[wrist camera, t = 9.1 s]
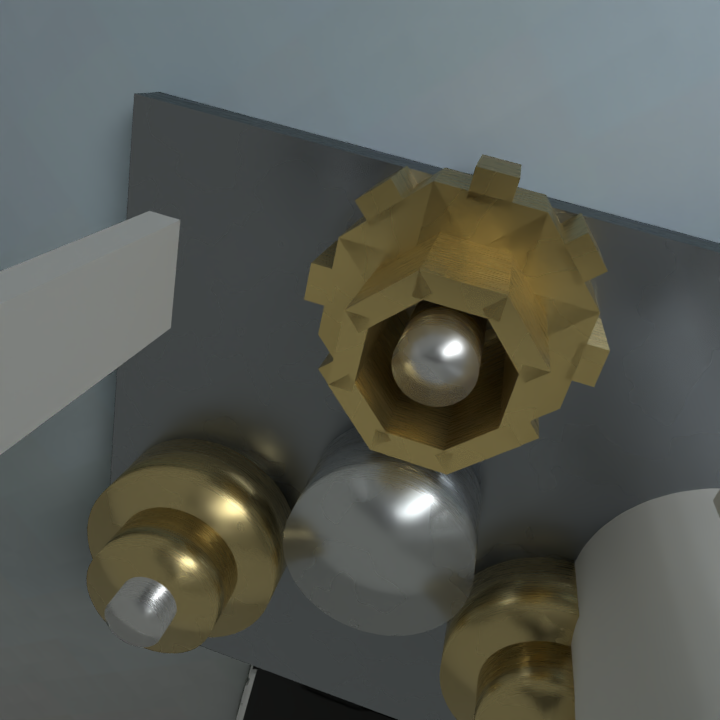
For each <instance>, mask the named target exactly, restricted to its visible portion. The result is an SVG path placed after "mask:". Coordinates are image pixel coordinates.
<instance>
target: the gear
mask: <svg viewBox="0 0 720 720" xmlns="http://www.w3.org/2000/svg"><path fill="white" fill-rule="evenodd" d="M520 174H521V165H520V164H517V163H513V162H509V161H505V160H502V159H498V158H494V157H490V156H487V155H483V154H482V156H481V158H480V160H479V161H478V163H477V165H476V167H475V171H474V174H473V175H471V174H467V173H463V172H459V171H456V170H452V169H448V168H444V169H442V170H440V171H439V172H437V173H435V174H434V175H432V176H430V177H429V178H427V179H425V180H424V181H422V182H420V183H419V184H417V182H416V180H415V178H414V177H413V175H412V173H411V171H410V169H409V168H408V166H405V167H404V168H402V169H401V170H399V171H397V172H396V173H394V174H392V175H391V176H389V177H388V178H386V179H384V180H383V181H381V182H379V183H378V184H376V185H375V186H373V187H372V188H371V189H369V190H368V191H367V192H365V193H364V194H363V195H361V196H360V197H359V198H357V199H356V200H355V202H356V203H357V205H358V207H359V208H360V210H361V212H362V213H363V215H364V216H363V217H362V218H360V219H359V220H358V221H357V222H356V223H354V224H353V225H352V226H351V227H350V228H349V229H348V230H346V231H345V232H344V233H343V234H342V235H341V236H340V237H339V238H338V242H336V241H335V242H334V243H333V244H332V245H331V246H330V247H328V248H327V249H326V250H325V251H324V252H323V253H322V254H321V255H319V256H318V257H317V258H316V259H315V260H314V261H313V262H312V263H311V266H310V272H309V277H308V282H307V287H306V292H305V297H304V300H307V301H310V302H314V303H317V304H320V305H324V309H323V314H322V318H321V323H320V328H319V333H318V335H319V337H320V338H321V340H322V341H323V343H324V344H325V346H326V347H327V349H328V351H329V352H330V353H329V354H328V356H327V357H326V358H325V360H324V361H323V363H322V364H321V365H320V367H319V368H318V369H319V371H320V372H321V374H322V376H323V377H324V379H325V380H326V382H327V383H328V386H329V387H330V389H331V390H332V392H333V393H334V395H335V397H336V398H337V400H338V401H339V403H340V404H341V406H342V407H343V409H344V410H345V412H346V413H347V415H348V417H349V418H350V420H351V421H352V423H353V424H354V426H355V427H356V429H357V430H358V432H359V434H360V435H361V437H362V438H363V440H364V441H365V443H366V444H367V446H368V447H369V449H370V450H373V451H376V452H379V453H382V454H385V455H388V456H391V457H394V458H397V459H400V460H404V461H407V462H410V463H413V464H416V465H419V466H422V467H425V468H428V469H431V470H434V471H437V472H440V473H443V474H450V473H452V472H455V471H457V470H460V469H463V468H465V467H468V466H470V465H473V464H475V463H478V462H481V461H483V460H486V459H488V458H491V457H493V456H496V455H499V454H501V453H504V452H506V451H509V450H512V449H514V448H517V447H519V446H521V445H523V444H526V443H528V442H531V441H533V440H536V439H538V438H539V417H541V416H543V415H546V414H548V413H551V412H553V411H556V410H558V409H560V407H561V405H562V403H563V400H564V398H565V395H566V393H567V391H568V388H569V386H570V384H571V381H575V382H579V383H582V384H585V385H589V386H592V387H594V386H595V384H596V382H597V379H598V377H599V375H600V372H601V370H602V368H603V366H604V363H605V361H606V359H607V356H608V354H609V352H610V349H609V346H608V342H607V339H606V335H605V332H604V328H603V324H602V321H601V318H598V317H599V314H600V311H599V307H598V304H597V300H596V297H595V293H594V290H593V286H592V283H591V281H590V280H591V279H593V278H595V277H597V276H599V275H601V274H603V273H605V272H608V271H607V268H606V265H605V263H604V260H603V258H602V255H601V252H600V250H599V247H598V245H597V243H596V241H595V239H594V237H593V235H592V233H591V231H590V229H589V227H588V225H587V223H586V221H585V219H584V217H583V215H582V213H579V214H577V215H576V216H574V217H572V218H570V219H568V220H566V221H564V222H562V223H560V221H559V219H558V217H557V215H556V213H555V211H554V209H553V207H552V206H551V204H550V202H549V200H548V198H547V196H546V195H545V194H541V193H537V192H533V191H530V190H526V189H522V188H519V187H517V186H518V183H519V180H520ZM422 300H426V301H429V302H433V303H436V304H439V305H443V306H446V307H450V308H453V309H456V310H460V311H463V312H466V313H470V314H473V315H477V316H480V317H483V318H487V319H488V320H489V322H490V323H491V325H492V327H493V329H494V331H495V332H496V334H497V336H498V337H497V338H494V339H492V340H490V341H488V342H486V343H484V345H483V351H482V357H481V363H480V369H479V375H478V379H477V382H476V385H475V387H474V388H473V390H472V391H471V392H470V394H469V395H468V396H466V397H465V398H464V399H463V400H461V401H459V402H457V403H455V404H453V405H449V406H444V407H432V406H426V405H423V404H420V403H418V402H416V401H414V400H412V399H411V398H409V397H408V396H407V395H405V394H404V393H403V392H402V390H401V389H400V388H399V387H398V385H397V383H396V381H395V379H394V376H393V373H392V356H393V353H394V350H395V348H396V346H397V344H398V342H399V340H400V338H401V336H402V334H403V331H404V329H405V327H406V325H407V323H408V321H409V319H410V316H409V315H408V313H407V311H406V310H405V309H406V308H408V307H410V306H412V305H414V304H416V303H418V302H420V301H422Z"/></svg>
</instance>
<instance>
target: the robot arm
mask: <svg viewBox="0 0 720 720" xmlns="http://www.w3.org/2000/svg"><path fill="white" fill-rule="evenodd" d="M179 230H180V220H179V219H176V218H172V217H169V216H165V215H162V214H159V213H155V212H152V211H148V212H145V213H143V214H140V215H138V216H135V217H133V218H131V219H128V220H126V221H123V222H121V223H118V224H116V225H113V226H111V227H108V228H106V229H103V230H101V231H98V232H96V233H94V234H91V235H89V236H86V237H84V238H81V239H79V240H76V241H74V242H71V243H69V244H66V245H64V246H61V247H59V248H57V249H54V250H52V251H49V252H47V253H44V254H42V255H39V256H37V257H34V258H32V259H29V260H27V261H24V262H22V263H20V264H17V265H15V266H12V267H10V268H7V269H5V270H2V271H0V455H1V454H2V453H4V452H5V451H6V450H8V449H9V448H11V447H12V446H13V445H15V444H16V443H17V442H19V441H20V440H21V439H23V438H24V437H25V436H27V435H28V434H29V433H31V432H32V431H33V430H35V429H36V428H37V427H39V426H40V425H41V424H43V423H44V422H45V421H47V420H48V419H49V418H51V417H52V416H53V415H55V414H56V413H57V412H59V411H60V410H61V409H63V408H64V407H65V406H67V405H68V404H69V403H71V402H72V401H74V400H75V399H76V398H78V397H79V396H80V395H82V394H83V393H84V392H86V391H87V390H88V389H90V388H91V387H92V386H94V385H95V384H96V383H98V382H99V381H100V380H102V379H103V378H104V377H106V376H107V375H108V374H110V373H111V372H112V371H114V370H115V369H116V368H118V367H119V366H120V365H122V364H123V363H124V362H126V361H127V360H128V359H130V358H131V357H133V356H134V355H135V354H137V353H138V352H139V351H141V350H142V349H143V348H145V347H146V346H147V345H149V344H150V343H151V342H153V341H154V340H155V339H157V338H158V337H159V336H161V335H162V334H163V333H165V332H166V331H167V330H169V329H170V328H171V320H172V309H173V297H174V286H175V275H176V264H177V252H178V241H179ZM713 502H714V505H715V507H716V510H717V513H718V515H719V518H720V489H719V491H718V493H717V494H716V496H715V498H714V499H713Z"/></svg>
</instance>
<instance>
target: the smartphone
mask: <svg viewBox="0 0 720 720" xmlns="http://www.w3.org/2000/svg"><path fill="white" fill-rule="evenodd" d="M248 678H249V679H248V681H247V683H246V685H245V689H244V692H243V696H242V700H241V704H240V707H239V711H238V714H237V718H236V720H398V719H395V718H392V717H390V716H387V715H384V714H382V713H379V712H376V711H373V710H371V709H368V708H365V707H363V706H360V705H357V704H355V703H352V702H349V701H347V700H344V699H341V698H339V697H336V696H333V695H331V694H328V693H325V692H323V691H320V690H317V689H315V688H312V687H309V686H307V685H304V684H301V683H299V682H296V681H293V680H290V679H288V678H285V677H282V676H280V675H277V674H274V673H272V672H269V671H266V670H264V669H261V668H258V667H256V666H253V665H251V669H250V672H249V676H248Z"/></svg>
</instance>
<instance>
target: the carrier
mask: <svg viewBox="0 0 720 720" xmlns="http://www.w3.org/2000/svg"><path fill="white" fill-rule="evenodd" d="M405 166H408V168H409V169H410V171H411V173H412V175H413V177H414V178H415V180H416V182H417V184H419V183H420V182H422V181H424V180H425V179H427V178H429V177H430V176H432V175H434V174H435V173H437V172H439V171H440V170H442V168H438V167H435V166H431V165H427V164H424V163H420V162H416V161H412V160H409V159H405V158H401V157H398V156H394V155H390V154H387V153H383V152H379V151H375V150H372V149H368V148H364V147H361V146H357V145H353V144H350V143H346V142H342V141H338V140H335V139H331V138H327V137H324V136H320V135H316V134H313V133H309V132H305V131H301V130H298V129H294V128H290V127H287V126H283V125H279V124H276V123H272V122H268V121H264V120H261V119H257V118H253V117H250V116H246V115H242V114H239V113H235V112H231V111H228V110H224V109H220V108H216V107H213V106H209V105H205V104H202V103H198V102H194V101H191V100H187V99H183V98H179V97H176V96H172V95H168V94H165V93H161V92H153V93H137V94H134V109H133V125H132V141H131V157H130V173H129V189H128V205H127V220H128V219H131V218H133V217H135V216H138V215H140V214H143V213H145V212H148V211H152V212H155V213H159V214H162V215H165V216H169V217H172V218H176V219H179V220H180V230H179V241H178V252H177V264H176V275H175V286H174V297H173V309H172V320H171V328H170V329H169V330H167V331H166V332H165V333H163V334H162V335H161V336H159V337H158V338H157V339H155V340H154V341H153V342H151V343H150V344H149V345H147V346H146V347H145V348H143V349H142V350H141V351H139V352H138V353H137V354H135V355H134V356H133V357H131V358H130V359H128V360H127V361H126V362H124V363H123V364H122V365H120V366H119V367H118V368H117V382H116V398H115V414H114V430H113V446H112V462H111V478H110V486H109V487H108V488H107V489H106V490H105V491H104V492H103V493H102V494H101V495H100V497H99V498H98V499H97V500H96V502H95V504H94V506H93V508H92V509H91V513H90V516H89V520H88V527H87V532H88V543H89V548H90V552H91V555H92V558H93V560H92V562H91V564H90V565H89V568H88V571H87V588H88V592H89V596H90V598H91V601H92V603H93V605H94V607H95V608H96V610H97V612H98V613H99V614H100V616H101V617H102V618H103V619H104V621H105V622H106V623H107V625H108V627H109V628H110V630H111V631H112V632H113V633H114V634H115V635H116V636H117V637H118V638H120V639H121V640H122V641H124V642H126V643H128V644H130V645H133V646H137V647H143V648H146V649H149V650H152V651H157V652H162V653H182V652H187V651H190V650H192V649H195V648H197V647H198V646H202V647H205V648H207V649H210V650H213V651H215V652H218V653H221V654H224V655H226V656H229V657H232V658H234V659H237V660H240V661H242V662H245V663H248V664H250V665H253V666H256V667H258V668H261V669H264V670H266V671H269V672H272V673H274V674H277V675H280V676H282V677H285V678H288V679H290V680H293V681H296V682H299V683H301V684H304V685H307V686H309V687H312V688H315V689H317V690H320V691H323V692H325V693H328V694H331V695H333V696H336V697H339V698H341V699H344V700H347V701H349V702H352V703H355V704H357V705H360V706H363V707H365V708H368V709H371V710H373V711H376V712H379V713H382V714H384V715H387V716H390V717H392V718H395V719H398V720H575V695H574V681H573V666H572V651H571V642H572V637H573V633H574V629H575V626H576V623H577V620H578V618H579V607H578V595H577V584H576V573H575V561H576V559H577V557H578V556H579V554H580V552H581V550H582V549H583V547H584V546H585V545H586V543H587V542H588V541H589V540H590V539H591V538H592V537H593V536H594V534H595V533H596V532H597V531H598V530H599V529H601V528H602V527H603V526H604V525H606V524H607V523H608V522H610V521H611V520H612V519H614V518H615V517H617V516H618V515H620V514H621V513H623V512H625V511H627V510H629V509H631V508H633V507H635V506H637V505H639V504H641V503H644V502H646V501H649V500H652V499H655V498H658V497H662V496H665V495H669V494H673V493H677V492H683V491H690V490H698V489H710V488H720V243H716V242H712V241H708V240H705V239H701V238H697V237H694V236H690V235H686V234H683V233H679V232H675V231H671V230H668V229H664V228H660V227H657V226H653V225H649V224H646V223H642V222H638V221H634V220H631V219H627V218H623V217H620V216H616V215H612V214H609V213H605V212H601V211H597V210H594V209H590V208H586V207H583V206H579V205H575V204H572V203H568V202H564V201H560V200H557V199H553V198H549V197H547V198H548V200H549V202H550V204H551V206H552V207H553V209H554V211H555V213H556V215H557V217H558V219H559V221H560V223H562V222H564V221H566V220H568V219H570V218H572V217H574V216H576V215H577V214H579V213H582V215H583V217H584V219H585V221H586V223H587V225H588V227H589V229H590V231H591V233H592V235H593V237H594V239H595V241H596V243H597V245H598V247H599V250H600V252H601V255H602V258H603V260H604V263H605V265H606V268H607V271H608V272H605V273H603V274H601V275H599V276H597V277H595V278H593V279H591V280H590V281H591V283H592V286H593V290H594V293H595V297H596V300H597V304H598V307H599V311H600V314H599V317H598V318H601V321H602V324H603V328H604V332H605V335H606V339H607V342H608V346H609V349H610V352H609V354H608V356H607V359H606V361H605V363H604V366H603V368H602V370H601V372H600V375H599V377H598V379H597V382H596V384H595V386H594V387H592V386H589V385H585V384H582V383H579V382H575V381H571V384H570V386H569V388H568V391H567V393H566V395H565V398H564V400H563V403H562V405H561V407H560V409H558V410H556V411H553V412H551V413H548V414H546V415H543V416H541V417H539V438H538V439H536V440H533V441H531V442H528V443H526V444H523V445H521V446H519V447H517V448H514V449H512V450H509V451H506V452H504V453H501V454H499V455H496V456H493V457H491V458H488V459H486V460H483V461H481V462H478V463H475V464H473V465H470V466H468V467H465V468H463V469H460V470H457V471H455V472H452V473H450V474H443V473H440V472H437V471H434V470H431V469H428V468H425V467H422V466H419V465H416V464H413V463H410V462H407V461H404V460H400V459H397V458H394V457H391V456H388V455H385V454H382V453H379V452H376V451H373V450H370V449H369V447H368V446H367V444H366V443H365V441H364V440H363V438H362V437H361V435H360V434H359V432H358V430H357V429H356V427H355V426H354V424H353V423H352V421H351V420H350V418H349V417H348V415H347V413H346V412H345V410H344V409H343V407H342V406H341V404H340V403H339V401H338V400H337V398H336V397H335V395H334V393H333V392H332V390H331V389H330V387H329V386H328V383H327V382H326V380H325V379H324V377H323V376H322V374H321V372H320V371H319V369H318V368H319V367H320V365H321V364H322V363H323V361H324V360H325V358H326V357H327V356H328V354H329V353H330V352H329V351H328V349H327V347H326V346H325V344H324V343H323V341H322V340H321V338H320V337H319V335H318V333H319V328H320V323H321V318H322V314H323V309H324V305H320V304H317V303H314V302H310V301H307V300H304V297H305V292H306V287H307V282H308V277H309V272H310V266H311V263H312V262H313V261H314V260H315V259H316V258H317V257H318V256H319V255H321V254H322V253H323V252H324V251H325V250H326V249H327V248H328V247H330V246H331V245H332V244H333V243H334V242H335V241H336V242H338V238H339V237H340V236H341V235H342V234H343V233H344V232H345V231H346V230H348V229H349V228H350V227H351V226H352V225H353V224H354V223H356V222H357V221H358V220H359V219H360V218H362V217H363V216H364V215H363V213H362V212H361V210H360V208H359V207H358V205H357V203H356V202H355V200H356V199H357V198H359V197H360V196H361V195H363V194H364V193H365V192H367V191H368V190H369V189H371V188H372V187H373V186H375V185H376V184H378V183H379V182H381V181H383V180H384V179H386V178H388V177H389V176H391V175H392V174H394V173H396V172H397V171H399V170H401V169H402V168H404V167H405ZM405 310H406V311H407V313H408V315H409V316H410V319H409V321H408V323H407V325H406V327H405V329H404V331H403V334H402V336H401V338H400V340H399V342H398V344H397V346H396V348H395V350H394V353H393V356H392V373H393V376H394V379H395V381H396V383H397V385H398V387H399V388H400V389H401V390H402V392H403V393H404V394H405V395H407V396H408V397H409V398H411V399H412V400H414V401H416V402H418V403H420V404H423V405H426V406H432V407H444V406H449V405H453V404H455V403H457V402H459V401H461V400H463V399H464V398H465V397H466V396H468V395H469V394H470V392H471V391H472V390H473V388H474V387H475V385H476V382H477V379H478V375H479V369H480V363H481V357H482V351H483V345H484V343H486V342H488V341H490V340H492V339H494V338H497V337H498V336H497V334H496V332H495V331H494V329H493V327H492V325H491V323H490V322H489V320H488V319H487V318H483V317H480V316H477V315H473V314H470V313H466V312H463V311H460V310H456V309H453V308H450V307H446V306H443V305H439V304H436V303H433V302H429V301H426V300H422V301H420V302H418V303H416V304H414V305H412V306H410V307H408V308H406V309H405Z"/></svg>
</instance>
